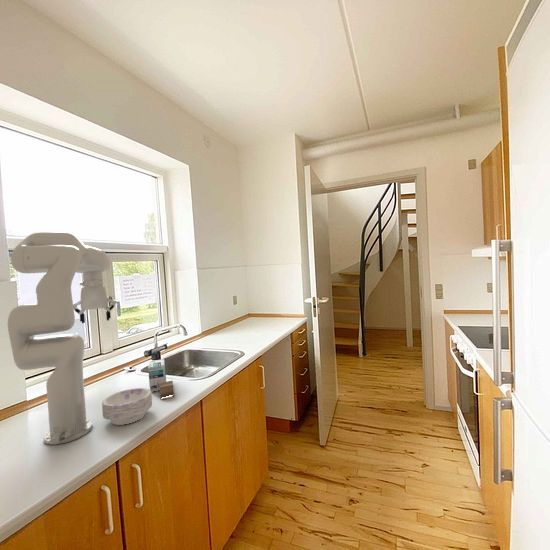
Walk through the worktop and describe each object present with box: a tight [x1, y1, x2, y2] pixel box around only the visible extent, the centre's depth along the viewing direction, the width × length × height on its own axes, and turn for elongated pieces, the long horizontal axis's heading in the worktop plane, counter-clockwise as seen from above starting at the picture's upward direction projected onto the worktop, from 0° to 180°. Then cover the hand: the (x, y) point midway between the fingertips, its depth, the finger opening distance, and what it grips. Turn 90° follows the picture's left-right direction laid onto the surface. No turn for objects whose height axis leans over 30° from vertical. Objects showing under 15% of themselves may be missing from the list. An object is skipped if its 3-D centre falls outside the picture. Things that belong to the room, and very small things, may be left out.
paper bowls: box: [101, 387, 153, 426], centre depth 100 cm, size 15×15×8 cm
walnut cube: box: [159, 380, 175, 399], centre depth 117 cm, size 5×5×5 cm
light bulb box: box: [147, 358, 167, 393], centre depth 127 cm, size 11×7×11 cm, turn 22°
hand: (95, 321), depth 131 cm, fingers open, 9 cm apart
